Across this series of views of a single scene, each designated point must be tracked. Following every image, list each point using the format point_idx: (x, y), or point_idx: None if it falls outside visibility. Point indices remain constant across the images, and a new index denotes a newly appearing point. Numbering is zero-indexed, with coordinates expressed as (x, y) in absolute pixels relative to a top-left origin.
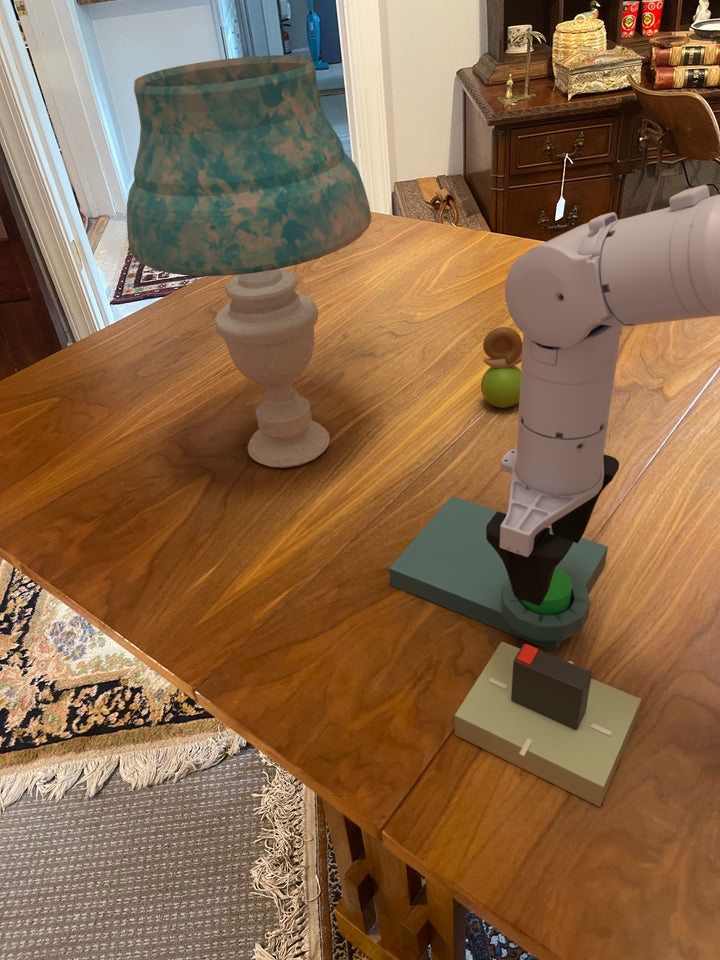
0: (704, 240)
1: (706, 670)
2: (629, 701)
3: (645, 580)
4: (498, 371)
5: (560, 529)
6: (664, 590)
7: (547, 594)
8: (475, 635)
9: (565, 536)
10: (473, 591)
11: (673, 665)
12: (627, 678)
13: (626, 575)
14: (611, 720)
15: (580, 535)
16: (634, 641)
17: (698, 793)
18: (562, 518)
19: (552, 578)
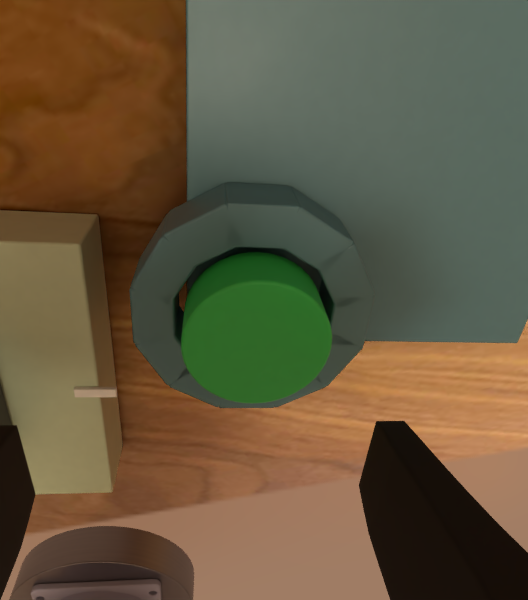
0: None
1: (272, 487)
2: (93, 483)
3: (452, 381)
4: None
5: (384, 472)
6: (433, 410)
7: (210, 365)
8: (139, 120)
9: (371, 465)
10: (228, 80)
11: (261, 456)
12: (198, 415)
13: (460, 352)
14: (33, 474)
15: (369, 524)
16: (287, 403)
17: (56, 518)
18: (408, 524)
19: (282, 355)
